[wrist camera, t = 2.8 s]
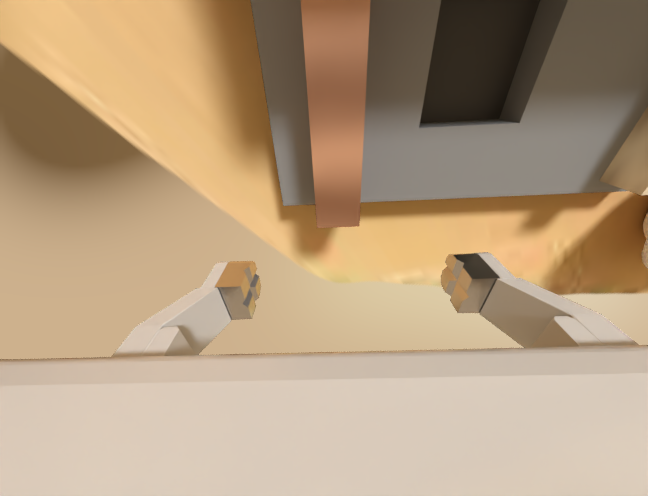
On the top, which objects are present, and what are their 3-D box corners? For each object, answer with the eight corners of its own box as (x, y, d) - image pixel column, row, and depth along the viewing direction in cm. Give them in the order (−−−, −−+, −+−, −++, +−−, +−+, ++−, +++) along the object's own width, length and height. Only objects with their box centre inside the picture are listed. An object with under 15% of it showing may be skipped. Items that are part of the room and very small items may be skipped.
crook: (297, -122, 10) (284, -216, 7) (475, -136, 10) (546, -238, 7) (318, 204, 20) (317, 227, 16) (412, 200, 19) (430, 223, 16)
